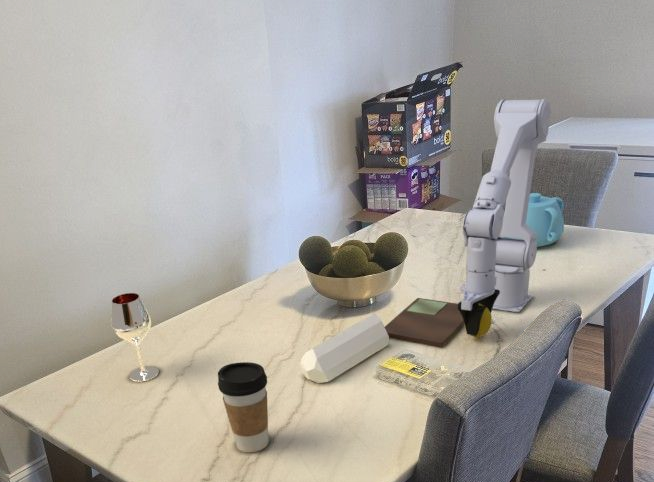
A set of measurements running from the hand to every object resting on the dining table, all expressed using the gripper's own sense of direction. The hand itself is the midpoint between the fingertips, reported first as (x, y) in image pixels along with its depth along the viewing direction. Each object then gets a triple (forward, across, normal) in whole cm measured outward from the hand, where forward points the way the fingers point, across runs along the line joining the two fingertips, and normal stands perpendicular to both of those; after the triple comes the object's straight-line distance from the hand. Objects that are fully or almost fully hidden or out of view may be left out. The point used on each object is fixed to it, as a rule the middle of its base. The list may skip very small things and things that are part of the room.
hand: (477, 328), depth 147 cm
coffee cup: (+3, +54, -21) cm, 58 cm away
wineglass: (+3, +43, -59) cm, 73 cm away
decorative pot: (+2, -61, -8) cm, 62 cm away
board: (+2, -3, -12) cm, 13 cm away
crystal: (+3, +20, -21) cm, 29 cm away
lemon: (+2, 0, 0) cm, 3 cm away
